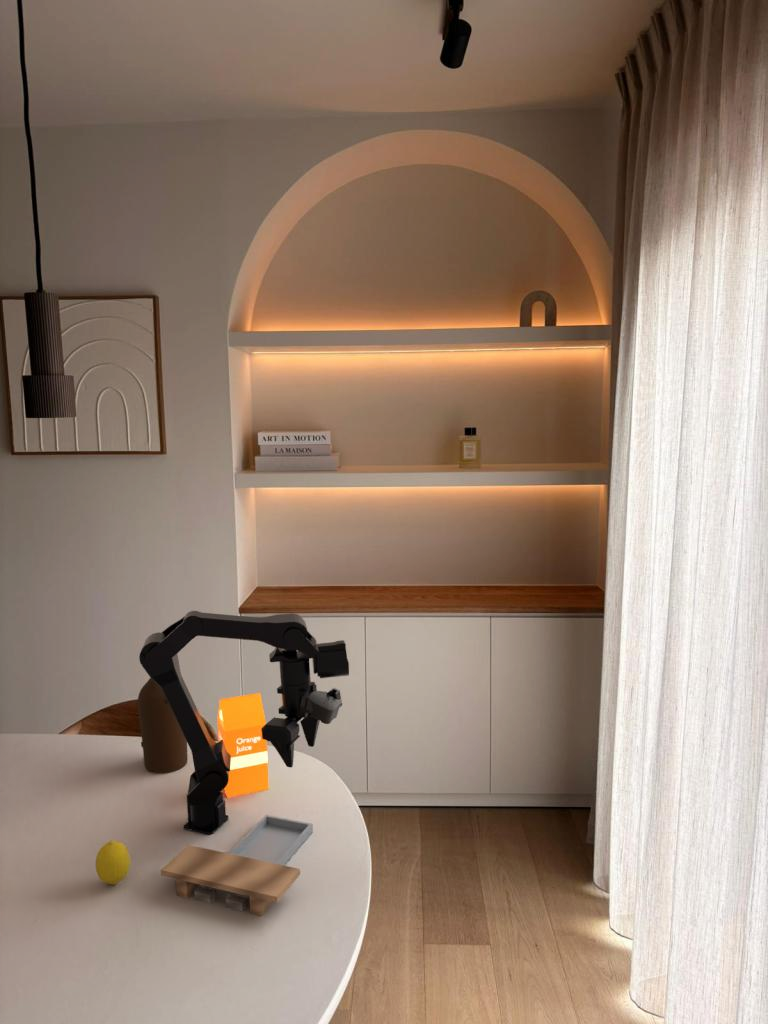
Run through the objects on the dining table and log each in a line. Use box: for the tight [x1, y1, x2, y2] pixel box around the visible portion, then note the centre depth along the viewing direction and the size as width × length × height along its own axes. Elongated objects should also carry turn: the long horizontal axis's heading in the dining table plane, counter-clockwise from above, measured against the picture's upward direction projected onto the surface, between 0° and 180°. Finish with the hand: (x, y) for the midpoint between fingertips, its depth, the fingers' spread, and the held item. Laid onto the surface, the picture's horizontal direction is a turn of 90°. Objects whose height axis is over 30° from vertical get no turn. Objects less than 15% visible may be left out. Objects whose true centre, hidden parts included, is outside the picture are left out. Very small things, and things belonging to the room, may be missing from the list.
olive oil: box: [137, 677, 188, 774], centre depth 181 cm, size 11×11×25 cm
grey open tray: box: [227, 814, 314, 866], centre depth 149 cm, size 10×14×2 cm
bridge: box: [160, 844, 301, 917], centre depth 136 cm, size 22×8×4 cm, turn 69°
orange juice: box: [216, 692, 270, 798], centre depth 171 cm, size 8×9×20 cm
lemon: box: [95, 840, 131, 886], centre depth 138 cm, size 6×6×8 cm
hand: (300, 756), depth 158 cm, fingers open, 9 cm apart
